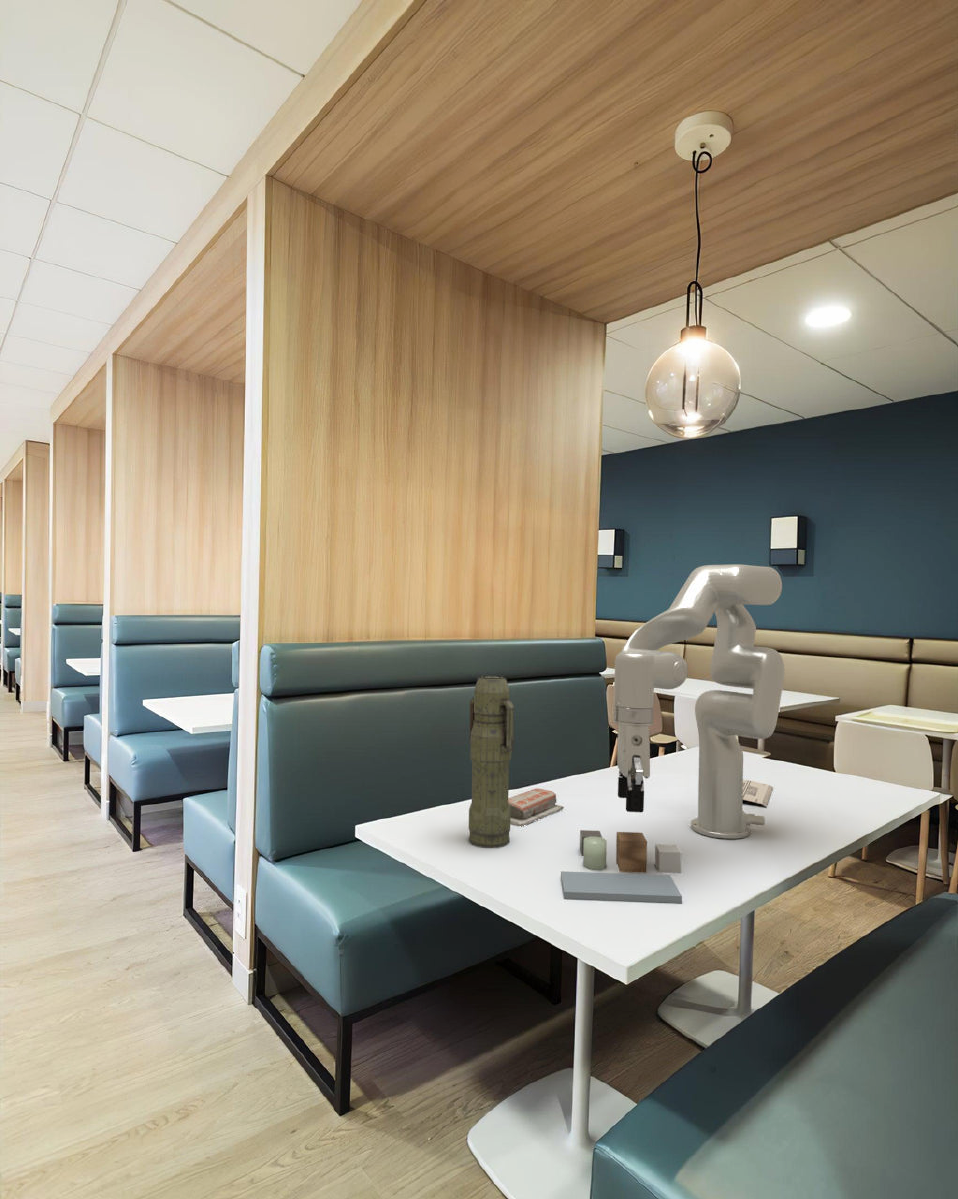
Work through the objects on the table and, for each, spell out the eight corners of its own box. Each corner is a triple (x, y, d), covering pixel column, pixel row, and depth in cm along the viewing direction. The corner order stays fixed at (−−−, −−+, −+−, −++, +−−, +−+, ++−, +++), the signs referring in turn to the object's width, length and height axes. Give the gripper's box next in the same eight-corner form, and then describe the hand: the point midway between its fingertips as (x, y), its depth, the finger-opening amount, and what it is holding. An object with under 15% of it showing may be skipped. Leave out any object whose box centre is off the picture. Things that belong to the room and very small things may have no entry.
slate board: (669, 882, 127) (670, 875, 127) (681, 903, 118) (682, 896, 118) (560, 877, 128) (560, 871, 128) (564, 898, 119) (564, 891, 119)
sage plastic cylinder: (604, 862, 136) (605, 836, 136) (607, 871, 131) (608, 844, 131) (582, 861, 136) (582, 836, 136) (584, 870, 132) (584, 844, 132)
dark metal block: (599, 850, 143) (599, 830, 143) (601, 857, 139) (602, 837, 139) (579, 849, 143) (580, 830, 143) (581, 856, 139) (582, 836, 139)
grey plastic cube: (675, 865, 135) (675, 845, 135) (680, 873, 131) (680, 852, 131) (654, 864, 135) (655, 844, 135) (659, 872, 131) (659, 851, 131)
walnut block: (641, 863, 136) (642, 832, 136) (646, 873, 131) (647, 841, 131) (616, 862, 136) (616, 832, 136) (620, 872, 131) (620, 840, 131)
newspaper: (726, 784, 199) (728, 775, 199) (772, 794, 194) (773, 785, 193) (715, 803, 179) (716, 793, 179) (765, 815, 173) (766, 805, 173)
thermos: (480, 829, 154) (483, 673, 154) (523, 841, 146) (526, 677, 147) (454, 839, 147) (457, 676, 147) (498, 853, 140) (501, 680, 140)
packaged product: (530, 784, 176) (564, 791, 170) (530, 803, 176) (563, 811, 170) (487, 799, 162) (522, 808, 156) (487, 820, 162) (521, 829, 156)
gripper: (662, 723, 125) (659, 818, 124) (644, 710, 142) (641, 794, 141) (620, 721, 125) (617, 816, 125) (607, 708, 142) (604, 792, 142)
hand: (630, 804), depth 133 cm, fingers open, 9 cm apart
